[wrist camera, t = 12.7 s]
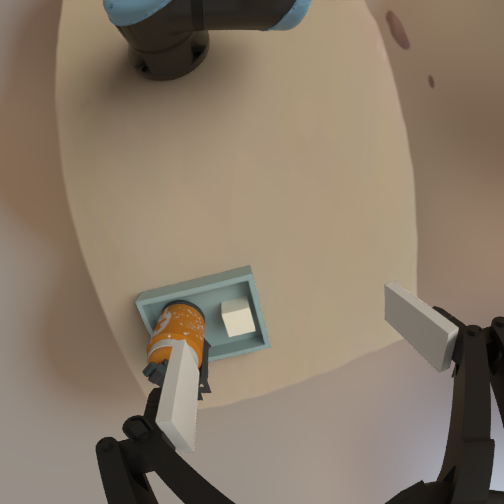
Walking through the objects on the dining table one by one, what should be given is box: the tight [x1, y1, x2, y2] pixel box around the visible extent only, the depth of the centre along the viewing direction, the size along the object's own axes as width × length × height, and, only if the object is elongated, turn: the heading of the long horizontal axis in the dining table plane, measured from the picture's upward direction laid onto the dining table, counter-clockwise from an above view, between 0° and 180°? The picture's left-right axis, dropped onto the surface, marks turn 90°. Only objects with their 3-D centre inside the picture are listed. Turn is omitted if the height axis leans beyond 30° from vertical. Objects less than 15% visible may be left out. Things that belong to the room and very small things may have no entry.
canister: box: [143, 300, 211, 400], centre depth 43 cm, size 9×11×20 cm
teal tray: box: [135, 266, 271, 362], centre depth 51 cm, size 16×22×4 cm
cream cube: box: [221, 296, 256, 337], centre depth 50 cm, size 5×5×5 cm
